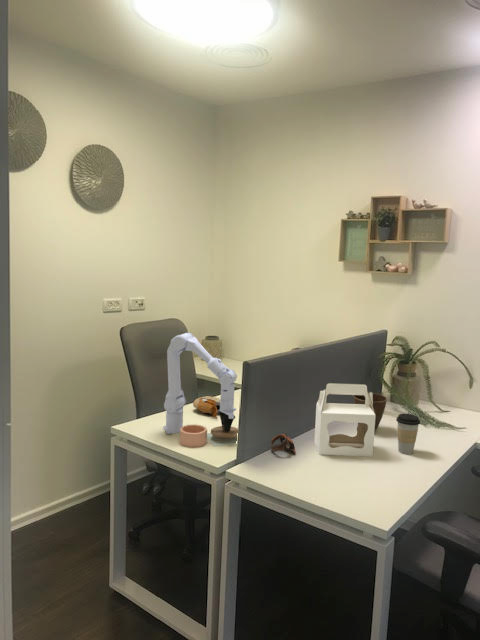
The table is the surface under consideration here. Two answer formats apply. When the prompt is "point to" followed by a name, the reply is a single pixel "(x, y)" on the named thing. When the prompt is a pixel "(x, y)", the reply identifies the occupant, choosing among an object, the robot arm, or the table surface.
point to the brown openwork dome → (282, 443)
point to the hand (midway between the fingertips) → (226, 429)
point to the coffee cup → (407, 432)
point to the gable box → (348, 414)
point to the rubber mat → (221, 440)
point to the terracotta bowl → (193, 435)
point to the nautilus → (208, 405)
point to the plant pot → (374, 405)
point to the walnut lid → (222, 434)
